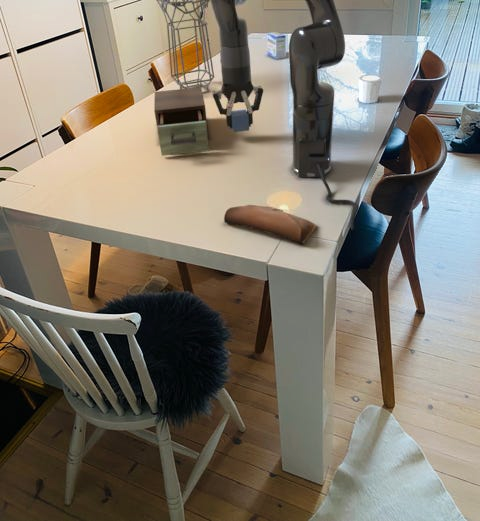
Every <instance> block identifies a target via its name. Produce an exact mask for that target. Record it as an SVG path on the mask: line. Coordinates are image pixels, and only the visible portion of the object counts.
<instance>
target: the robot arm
mask: <svg viewBox="0 0 480 521" xmlns="http://www.w3.org/2000/svg"><path fill="white" fill-rule="evenodd" d="M247 1H248V0H210V1H209V2H210V4H211V9H212V11H213V14H214V18H215V21H216V23H217V26H218V30H219V31H218V32H219V33H218V34H219V44H220V45H219V46H220V50H219V51H220V52H219V54H220V56H219V57H220V60H219V61H220V67H221V80H222V86H221V88H220V89H219V90H213V91H212V92H211V94H212V97H213V100H214V102H215V105H216V107H217V110H218V112H219V114H220V115H223V116H225V120H226V126H227V128H229V130H232V129H233V127H232V116H231V112H232V111H233V108H234V104H238V103H241V104H242V103H244V106H245V108H246V111H247V113H248V119H249V128H250V127H252V125H253V124H254V118H253V114H254V112H256V111H259V110H260V106H261V104H262V99H263V94H264V88H263V87H262V86H261V85H257V86H256V85H253V82H252V73H251V72H252V71H251V70H252V69H251V67H252V66H251V53H250V47H249V32H248V23H247V20H246V19H245V18H243V17H241V16H238V12H237V8H236V7H238V6H241V5H244V4H245V3H246V2H247ZM304 2H305V4H306V7H307V9H308V12H309V16H310V19H311V23H309V24H305V25H301V26H298V27H296V28H294V30H293V31H292V32H291V34H290V37H289V41H288V42H289V43H288V59H289V60H288V62H289V82H290V89H291V93H292V167H291V168H292V172H293V173H294V174H296V175H297V177H298V178H321V181H322V182H323V185H324V186H325V189H326V192H327V195H326V197H325V199H326V201H328V202H329V203H333V204H348V205H351V206H353V207H354V209H353V212H352V213H351V216H350V224H349V225H350V230H355V217H356V215H357V213H358V211H359V206H358V204H357V203H356V202H354V201H353V200H350V199H335V198H334V199H333V198H330V197H331V196H332V191H331V188H330V186H329V184H328V182H327V180H326V177H325V175H327V174H329V173H330V172H331V170H332V145H333V142H332V141H333V129H334V128H333V127H334V126H333V125H334V109H335V88H334V86H333V85H331V84H330V83H329V82H328V83H327V82H326V81H325V82H324V81H321V80H320V81H319V75H318V74H319V73H318V71H319V70H324V69H327V68H331V67H334V66H337V65H339V64H340V63H341V62H342V61H343V59H344V56H345V53H346V41H345V38H346V37H345V34H344V33H345V32H344V29H343V25H342V23H341V19H340V16H339V13H338V10H337V7H336V3H335V0H304ZM252 93H253V94H254V95H255V96H254V100H253V104H251V103H250V100H249V97H251V94H252ZM222 95H223V96H224V97H225V98H226V99H227V100H226V106H225V108H224V107H223V105H222V103H221V100H222Z"/></svg>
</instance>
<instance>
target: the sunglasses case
mask: <svg viewBox="0 0 480 521" xmlns="http://www.w3.org/2000/svg"><path fill="white" fill-rule="evenodd" d="M223 221H224V223H227V224H230V225H231V224H232V225H233V226H235V225H236V226H239V227H244V228H249V229H253V230H257V231H260V232H264V233H268V234H271V235H273V236H278V237H282V238H285V239H289V240H292V241H294V242H297V243H298V242H299V243H301V244H305V243H306V242H307V241H308V240H309V238H311V236H312V234H313V233H314V231H315V230H316V229H317V224H315V223H314V222H312V221H310V220H309V219H305V218H303V217H300V216H297V215H295V214H291V213H287V212H285V211H284V210H283V209H279V208H276V207H273V206H263V205H253V204H247V205H239V206H232V207H228V209H227V210H226V211H225V213H224V216H223Z"/></svg>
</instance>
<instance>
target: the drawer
mask: <svg viewBox="0 0 480 521" xmlns="http://www.w3.org/2000/svg"><path fill="white" fill-rule="evenodd" d="M207 129H208V127H207V128H206V121H202V116H201V111H200V109H196V110H186V111H176V112H167V113H160V125H159V126H157V125H156V130H157V135H158V142H159V147H160V148H159V149H160V153H161V157H162V156H169V155H170V156H171V155H180V154H188V153H198V152H206V151H209V150H210V149H209V148H210V147H209V136H208V137H207Z"/></svg>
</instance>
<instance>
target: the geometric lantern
mask: <svg viewBox="0 0 480 521" xmlns="http://www.w3.org/2000/svg"><path fill="white" fill-rule="evenodd" d="M155 1H156V2H157V4H158V6H159V8H160V10H161V11H162V13H163V15H164V19H165V22H166V32H167V44H168V54H169V56H168V57H169V66H170V67H169V68H170V78H171V79H172V80H173V81H174V82H175V84H177V85H178V86H179V89H188V88H197V87H201V88H204V89H206V91H205V90H204V91H202V94H205V93H208V92H209V91H210V88H209V85H210V84H211V82H212V81H213V80H214V79H215V73H214V66H213V60H212V52H211V45H210V39H209V33H208V26H207V25H208V22H205V18H206V17H205V16H206V15H205V14H203V13H204V10H205V9H208V8H209V3H210V2H211V1H210V0H182V1H178V0H172V1H171V0H155ZM197 3H200V4H199V5H197V6H196V7H195V4H197ZM187 4H192V7H193V9H191V10H188V9H187V7H186V5H187ZM168 5H171V6H172V7H174V9H173V12H172V16H171V17H170V15H169V12H168V10H167V9H168ZM181 7H183V8H184V9H181ZM200 8H201V10H200V13H198V11H197V10H199V9H200ZM176 10H178V11H179V12H180V13H182V16H181V18H180V20H177V21H174V18H175V14H176ZM194 12H195V15H196V17H197V18H194V17H193V15H192V13H194ZM187 14H189V16H191V18H190V19H183V18H184V16H185V15H187ZM202 15H203V20H202V19H201V18H202ZM167 18H168V19H167ZM168 20H169V22H168ZM191 21H193V25H191V26H186V27H179V26H180V24H181V23H182V22H191ZM196 22H197V23H196ZM174 24H177V25H176V27H175V25H174ZM197 24H198V25H197ZM204 27H205V30H204ZM192 28H193V29H194V37H195V39H194V40H195V48H196V49H195V50H196V59H197V60H196V61H197V69H195V70H194V69H193V70H189V71H185V66H184V59H183V57H184V56H183V51H182V44H181V37H180V30H186V29H192ZM197 28H198V33H199V38H200V45H201V51H202V52H201V53H202V60H203V63H204V64H203V65H204V69H200V57H199V45H198V34H197ZM176 33H177V41H178V46H179V53H180V54H179V55H180V62H181V68H182V72H179V67H178V66H179V65H178V53H177V42H176ZM205 34H206V37H205ZM170 35H171V36H170ZM170 37H171V40H170ZM206 41H207V42H206ZM171 47H172V51H171ZM207 48H208V49H207ZM172 61H173V64H172ZM206 64H207V65H206ZM210 68H211V69H210ZM197 72H198V73H197ZM201 72H204V73H203V74H202V76H201V77H200V73H201ZM173 73H174V74H173ZM191 73H197V78H196V79H192V80H187V79H186V78H187V77H186V74H191ZM206 74H208V77H209V79H203V78H204V77H205V75H206ZM181 75H183V82H181V80H180V78H179V76H181ZM202 83H204V84H202Z"/></svg>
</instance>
